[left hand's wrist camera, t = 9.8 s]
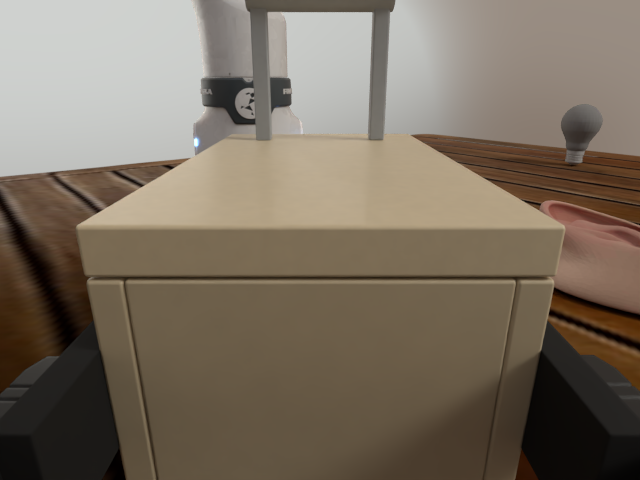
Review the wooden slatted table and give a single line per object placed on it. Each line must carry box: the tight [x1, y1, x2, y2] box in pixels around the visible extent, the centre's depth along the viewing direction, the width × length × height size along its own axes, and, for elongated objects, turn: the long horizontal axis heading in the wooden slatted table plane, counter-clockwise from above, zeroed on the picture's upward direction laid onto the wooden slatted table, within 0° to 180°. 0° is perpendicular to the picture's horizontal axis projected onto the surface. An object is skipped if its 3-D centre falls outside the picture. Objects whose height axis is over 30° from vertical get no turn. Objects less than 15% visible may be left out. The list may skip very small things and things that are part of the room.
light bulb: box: [561, 104, 603, 165], centre depth 74 cm, size 6×6×10 cm
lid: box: [76, 0, 565, 277], centre depth 15 cm, size 16×10×8 cm, turn 0°
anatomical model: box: [540, 201, 640, 315], centre depth 32 cm, size 13×4×12 cm
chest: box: [87, 277, 554, 480], centre depth 18 cm, size 16×10×10 cm, turn 0°
